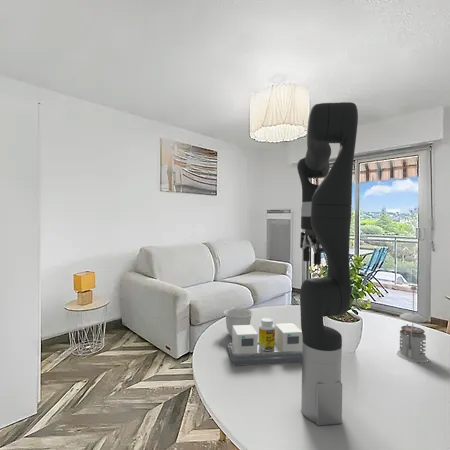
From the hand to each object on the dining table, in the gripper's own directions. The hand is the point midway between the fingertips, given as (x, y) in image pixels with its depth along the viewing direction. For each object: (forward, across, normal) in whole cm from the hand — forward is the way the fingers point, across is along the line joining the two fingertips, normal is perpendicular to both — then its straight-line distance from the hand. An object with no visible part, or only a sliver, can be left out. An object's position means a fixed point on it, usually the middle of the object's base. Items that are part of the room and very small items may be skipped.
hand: (311, 262), depth 103 cm
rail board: (+33, +5, +14) cm, 36 cm away
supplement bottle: (+31, +5, +14) cm, 34 cm away
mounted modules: (+31, +5, +14) cm, 34 cm away
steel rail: (+32, +5, +14) cm, 35 cm away
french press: (+33, -3, -36) cm, 50 cm away
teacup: (+33, +24, +21) cm, 46 cm away
